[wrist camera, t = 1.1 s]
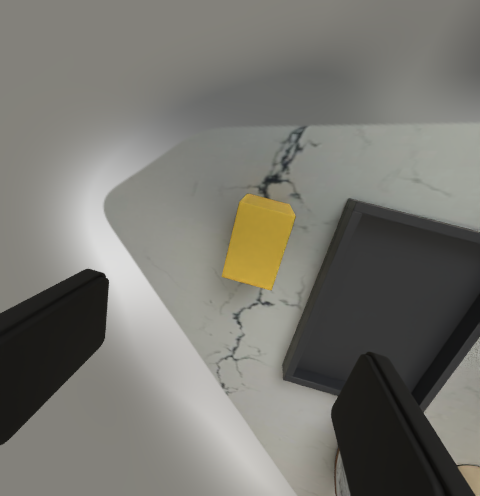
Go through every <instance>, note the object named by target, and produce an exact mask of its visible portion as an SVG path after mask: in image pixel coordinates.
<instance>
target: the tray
mask: <svg viewBox="0 0 480 496" xmlns="http://www.w3.org/2000/svg"><path fill="white" fill-rule="evenodd" d="M479 337H480V232H478V231H474V230H470V229H466V228H462V227H459V226H455V225H451V224H447V223H443V222H439V221H435V220H432V219H428V218H424V217H420V216H416V215H412V214H408V213H404V212H401V211H397V210H393V209H389V208H385V207H381V206H377V205H373V204H370V203H366V202H362V201H358V200H354V199H350V198H349V199H348V201H347V204H346V206H345V209H344V211H343V214H342V217H341V219H340V222H339V224H338V227H337V229H336V232H335V234H334V237H333V239H332V242H331V244H330V247H329V249H328V252H327V254H326V257H325V259H324V262H323V264H322V267H321V269H320V272H319V274H318V277H317V279H316V282H315V284H314V287H313V289H312V292H311V294H310V297H309V299H308V302H307V304H306V307H305V309H304V312H303V314H302V317H301V319H300V322H299V324H298V327H297V329H296V332H295V335H294V337H293V340H292V342H291V345H290V347H289V350H288V352H287V355H286V357H285V360H284V362H283V365H282V366H283V380H285V381H289V382H292V383H296V384H299V385H302V386H306V387H309V388H313V389H316V390H320V391H323V392H326V393H330V394H333V395H337V396H339V394H340V392H341V390H342V388H343V386H344V384H345V383H346V381H347V379H348V377H349V375H350V373H351V371H352V370H353V368H354V366H355V364H356V362H357V360H358V358H359V357H360V355H362V354H366V353H367V352H373V353H376V354H380V355H383V356H386V357H388V358H389V360H390V361H391V363H392V364H393V366H394V367H395V369H396V371H397V372H398V374H399V375H400V377H401V378H402V380H403V382H404V383H405V385H406V386H407V388H408V389H409V391H410V393H411V394H412V396H413V397H414V399H415V401H416V402H417V404H418V405H419V407H420V408H421V410H422V412H424V411H425V410H426V408H427V407H428V406H429V404H430V403H431V402H432V400H433V399H434V398H435V396H436V395H437V394H438V392H439V391H440V390H441V388H442V387H443V386H444V384H445V383H446V382H447V380H448V379H449V377H450V376H451V375H452V373H453V372H454V371H455V369H456V368H457V367H458V365H459V364H460V363H461V361H462V360H463V359H464V357H465V356H466V355H467V353H468V352H469V351H470V349H471V348H472V347H473V345H474V344H475V342H476V341H477V340H478V338H479Z"/></svg>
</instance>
